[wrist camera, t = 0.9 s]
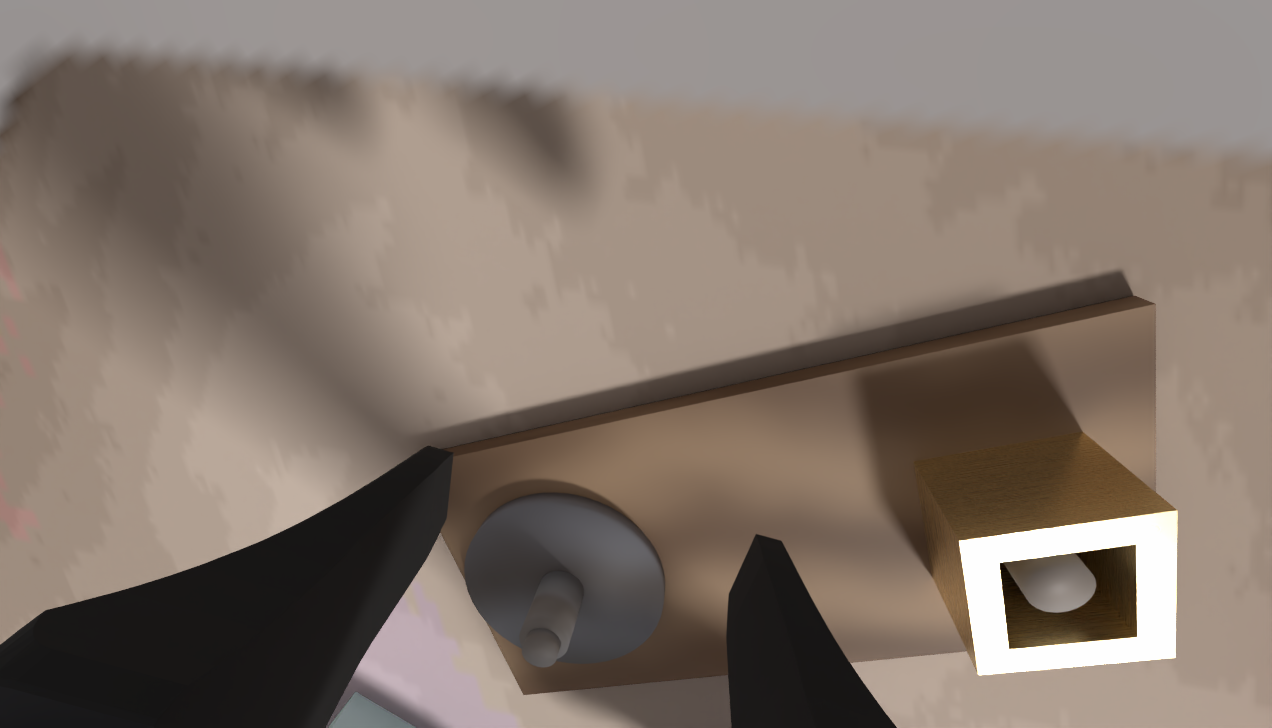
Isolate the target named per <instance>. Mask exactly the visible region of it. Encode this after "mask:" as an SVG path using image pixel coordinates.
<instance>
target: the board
mask: <svg viewBox="0 0 1272 728" xmlns="http://www.w3.org/2000/svg"><path fill="white" fill-rule="evenodd" d="M1078 432H1084V433H1085V434H1086V435H1087V436H1089V437H1090V438H1091V439H1092V440H1093V441H1095V442H1096V443H1097V444H1098V445H1099V446H1101V447H1102V448H1103V449H1104V450H1105V451H1107V452H1108V453H1109V454H1110V455H1111V456H1113V457H1114V458H1115V459H1116V460H1117V461H1119V462H1120V463H1121V464H1122V465H1123V466H1125V467H1126V468H1127V469H1128V470H1129V471H1131V472H1132V473H1133V474H1134V475H1135V476H1137V477H1138V478H1139V479H1140V480H1141V481H1143V482H1144V483H1145V484H1146V485H1147V486H1149V487H1150V488H1151V489H1152V490H1153V491H1155V492H1156V304H1154V303H1152V302H1149V301H1147V300H1144V299H1142V298H1139V297H1137V296H1131V297H1126V298H1122V299H1117V300H1113V301H1108V302H1104V303H1099V304H1095V305H1090V306H1086V307H1081V308H1077V309H1072V310H1068V311H1063V312H1059V313H1054V314H1050V315H1045V316H1041V317H1036V318H1032V319H1027V320H1023V321H1018V322H1014V323H1009V324H1005V325H1000V326H996V327H991V328H987V329H982V330H978V331H973V332H969V333H964V334H960V335H955V336H951V337H946V338H942V339H937V340H933V341H928V342H924V343H919V344H915V345H910V346H906V347H901V348H897V349H892V350H888V351H883V352H879V353H874V354H870V355H865V356H861V357H856V358H852V359H847V360H843V361H838V362H834V363H829V364H825V365H820V366H816V367H811V368H807V369H802V370H798V371H793V372H789V373H784V374H780V375H775V376H771V377H766V378H762V379H757V380H753V381H748V382H744V383H739V384H735V385H730V386H726V387H721V388H717V389H712V390H708V391H703V392H699V393H694V394H690V395H685V396H681V397H676V398H672V399H667V400H663V401H658V402H654V403H649V404H645V405H640V406H636V407H631V408H627V409H622V410H618V411H613V412H609V413H604V414H600V415H595V416H590V417H586V418H581V419H577V420H572V421H568V422H563V423H559V424H554V425H550V426H545V427H541V428H536V429H532V430H527V431H523V432H518V433H514V434H509V435H505V436H500V437H496V438H491V439H487V440H482V441H478V442H473V443H469V444H464V445H460V446H455V447H451V448H446V449H442V450H446V451H449V452H453V453H454V454H453V464H452V473H451V483H450V492H449V502H448V511H447V519H446V521H445V523H444V525H443V527H442V529H441V531H440V532H441V534H442V536H443V538H444V540H445V542H446V544H447V546H448V548H449V550H450V552H451V554H452V556H453V558H454V560H455V562H456V564H457V566H458V567H459V569H460V571H461V573H462V575H463V577H464V579H465V581H466V585H467V589H468V592H469V595H470V597H471V599H472V602H473V603H474V605H475V607H476V608H477V610H478V612H479V613H480V614H481V616H482V617H483V618H484V620H485V621H486V622H487V624H488V626H489V628H490V630H491V632H492V634H493V636H494V638H495V640H496V642H497V644H498V646H499V648H500V650H501V652H502V654H503V656H504V658H505V659H506V661H507V663H508V665H509V667H510V669H511V671H512V673H513V675H514V677H515V679H516V681H517V683H518V685H519V687H520V689H521V691H522V693H523V695H528V694H538V693H549V692H559V691H569V690H579V689H589V688H599V687H609V686H620V685H630V684H640V683H650V682H660V681H670V680H680V679H690V678H701V677H711V676H721V675H728V661H727V644H726V631H727V612H728V596H729V592H730V590H731V588H732V586H733V583H734V581H735V579H736V577H737V574H738V572H739V570H740V568H741V566H742V563H743V561H744V559H745V557H746V555H747V552H748V550H749V548H750V546H751V544H752V541H753V539H754V537H755V535H756V534H759V535H762V536H766V537H770V538H774V539H777V540H781V541H782V542H783V544H784V546H785V548H786V550H787V552H788V554H789V556H790V558H791V559H792V561H793V563H794V565H795V567H796V569H797V571H798V573H799V575H800V577H801V579H802V581H803V583H804V585H805V587H806V588H807V590H808V592H809V594H810V596H811V598H812V600H813V602H814V603H815V605H816V607H817V609H818V610H819V612H820V614H821V616H822V618H823V619H824V621H825V623H826V625H827V626H828V628H829V630H830V632H831V633H832V635H833V637H834V638H835V640H836V642H837V643H838V645H839V646H840V648H841V650H842V651H843V653H844V654H845V656H846V657H847V659H848V661H849V662H850V663H853V662H863V661H873V660H883V659H893V658H903V657H913V656H924V655H934V654H944V653H954V652H964V651H967V650H966V648H965V646H964V644H963V641H962V639H961V637H960V635H959V633H958V631H957V629H956V627H955V624H954V622H953V620H952V618H951V616H950V614H949V612H948V610H947V607H946V605H945V603H944V601H943V599H942V597H941V595H940V593H939V590H938V588H937V586H936V584H935V582H934V580H933V578H932V572H931V566H930V560H929V554H928V548H927V542H926V536H925V529H924V523H923V517H922V511H921V505H920V499H919V493H918V487H917V481H916V475H915V469H914V463H913V461H919V460H924V459H930V458H936V457H941V456H947V455H953V454H958V453H964V452H970V451H975V450H981V449H987V448H992V447H998V446H1004V445H1010V444H1015V443H1021V442H1027V441H1032V440H1038V439H1044V438H1049V437H1055V436H1061V435H1066V434H1072V433H1078ZM1003 563H1004V565H1005V567H1006V568H1007V570H1008V571H1009V573H1010V574H1011V576H1012V577H1013V579H1014V580H1015V582H1016V583H1017V585H1018V586H1019V588H1020V590H1021V591H1022V593H1023V594H1024V596H1025V597H1026V599H1027V600H1028V602H1029V603H1030V604H1031V605H1032V606H1034V607H1035V608H1037V609H1039V610H1042V611H1046V612H1055V613H1058V612H1066V611H1070V610H1073V609H1076V608H1078V607H1080V606H1082V605H1084V604H1085V603H1086V602H1087V601H1088V600H1090V598H1091V597H1092V596H1093V594H1094V592H1095V589H1096V580H1095V577H1094V576H1093V574H1092V573H1091V572H1090V570H1089V569H1088V568H1087V567H1086V566H1085V564H1084V563H1083V562H1082V561H1081V560H1080V559H1079V557H1078V556H1077V555H1076V554H1075V553H1067V554H1060V555H1052V556H1044V557H1037V558H1029V559H1022V560H1014V561H1006V562H1003Z"/></svg>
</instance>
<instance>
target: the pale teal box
mask: <svg viewBox="0 0 1272 728" xmlns="http://www.w3.org/2000/svg"><path fill="white" fill-rule="evenodd" d="M328 728H416V727H414V726H413V725H411V724H409V723H408V722H406V721H404V720H403V719H401V718H399V717H398V716H396V715H394V714H393V713H391V712H389V711H388V710H386V709H384V708H383V707H381V706H379V705H377V704H376V703H374V702H372V701H371V700H369V699H367V698H366V697H364V696H362V695H361V694H359V693H357V692H355V693H354V694H353V696H352V697H351V698H350V700H349V701H348V702H347V703H346V705H345V706H344V707H343V709H342V710H341V711H340V713H339V714H338V715H337V716H336V718H335V719H334V720H333V722H332V723H331V724H330V726H329V727H328Z"/></svg>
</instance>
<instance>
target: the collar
mask: <svg viewBox="0 0 1272 728" xmlns="http://www.w3.org/2000/svg"><path fill="white" fill-rule="evenodd" d="M913 463H914V469H915V475H916V481H917V487H918V493H919V499H920V505H921V511H922V517H923V523H924V529H925V536H926V542H927V548H928V554H929V560H930V566H931V572H932V578H933V580H934V582H935V584H936V586H937V588H938V590H939V593H940V595H941V597H942V599H943V601H944V603H945V605H946V607H947V610H948V612H949V614H950V616H951V618H952V620H953V622H954V624H955V627H956V629H957V631H958V633H959V635H960V637H961V639H962V641H963V644H964V646H965V648H966V650H967V652H968V654H969V656H970V658H971V660H972V663H973V665H974V667H975V669H976V671H977V673H978V675H986V674H997V673H1008V672H1019V671H1031V670H1042V669H1053V668H1064V667H1076V666H1087V665H1098V664H1109V663H1120V662H1132V661H1143V660H1154V659H1165V658H1175V636H1176V567H1177V510H1176V509H1175V508H1174V507H1173V506H1171V505H1170V504H1169V503H1168V502H1167V501H1165V500H1164V499H1163V498H1162V497H1161V496H1159V495H1158V494H1157V493H1156V492H1155V491H1153V490H1152V489H1151V488H1150V487H1149V486H1147V485H1146V484H1145V483H1144V482H1143V481H1141V480H1140V479H1139V478H1138V477H1137V476H1135V475H1134V474H1133V473H1132V472H1131V471H1129V470H1128V469H1127V468H1126V467H1125V466H1123V465H1122V464H1121V463H1120V462H1119V461H1117V460H1116V459H1115V458H1114V457H1113V456H1111V455H1110V454H1109V453H1108V452H1107V451H1105V450H1104V449H1103V448H1102V447H1101V446H1099V445H1098V444H1097V443H1096V442H1095V441H1093V440H1092V439H1091V438H1090V437H1089V436H1087V435H1086V434H1085V433H1084V432H1078V433H1072V434H1066V435H1061V436H1055V437H1049V438H1044V439H1038V440H1032V441H1027V442H1021V443H1015V444H1010V445H1004V446H998V447H992V448H987V449H981V450H975V451H970V452H964V453H958V454H953V455H947V456H941V457H936V458H930V459H924V460H919V461H913ZM1067 553H1075V554H1076V555H1077V556H1078V557H1079V559H1080V560H1081V561H1082V562H1083V563H1084V564H1085V566H1086V567H1087V568H1088V569H1089V570H1090V572H1091V573H1092V574H1093V576H1094V577H1095V580H1096V589H1095V592H1094V594H1093V596H1092V597H1091V598H1090V600H1088V601H1087V602H1086V603H1085V604H1084V605H1082V606H1080V607H1078V608H1076V609H1073V610H1070V611H1066V612H1058V613H1055V612H1046V611H1042V610H1039V609H1037V608H1035V607H1034V606H1032V605H1031V604H1030V603H1029V602H1028V600H1027V599H1026V597H1025V596H1024V594H1023V593H1022V591H1021V590H1020V588H1019V586H1018V585H1017V583H1016V582H1015V580H1014V579H1013V577H1012V576H1011V574H1010V573H1009V571H1008V570H1007V568H1006V567H1005V565H1004V563H1003V562H1006V561H1014V560H1022V559H1029V558H1037V557H1044V556H1052V555H1060V554H1067Z"/></svg>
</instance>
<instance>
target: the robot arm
mask: <svg viewBox="0 0 1272 728" xmlns="http://www.w3.org/2000/svg"><path fill="white" fill-rule="evenodd" d="M453 454H454V453H453V452H449V451H446V450H442V449H438V448H434V447H431V446H427V447H425V448H423V449H422V450H420V451H419V452H417V453H416V454H414V455H412V456H411V457H409V458H408V459H406V460H405V461H403V462H402V463H400V464H399V465H397V466H396V467H394V468H393V469H391V470H390V471H388V472H387V473H385V474H383V475H382V476H380V477H379V478H377V479H376V480H374V481H372V482H371V483H369V484H367V485H366V486H364V487H363V488H361V489H359V490H358V491H356V492H354V493H353V494H351V495H349V496H348V497H346V498H344V499H343V500H341V501H339V502H337V503H335V504H334V505H332V506H330V507H328V508H326V509H325V510H323V511H321V512H319V513H317V514H315V515H314V516H312V517H310V518H308V519H306V520H304V521H302V522H300V523H298V524H296V525H294V526H292V527H290V528H288V529H286V530H284V531H282V532H280V533H278V534H276V535H273V536H271V537H269V538H267V539H265V540H263V541H260V542H258V543H256V544H253V545H251V546H248V547H246V548H243V549H241V550H238V551H236V552H233V553H231V554H228V555H225V556H223V557H220V558H218V559H215V560H213V561H210V562H208V563H205V564H202V565H200V566H197V567H194V568H191V569H188V570H185V571H182V572H179V573H176V574H173V575H171V576H167V577H164V578H161V579H158V580H155V581H152V582H148V583H145V584H142V585H139V586H135V587H132V588H129V589H125V590H122V591H118V592H115V593H111V594H107V595H103V596H99V597H96V598H92V599H88V600H84V601H81V602H77V603H73V604H69V605H65V606H62V607H57V608H53V609H49V610H45V611H44V612H43V613H41V614H40V615H39V616H37V617H36V618H34V619H33V620H32V621H30V622H29V623H28V624H26V625H25V626H24V627H22V628H21V629H20V630H18V631H17V632H16V633H15V634H13V635H12V636H11V637H10V638H8V639H7V640H6V641H5V642H3V643H2V644H1V645H0V728H325V727H326V725H327V723H328V721H329V719H330V717H331V716H332V714H333V712H334V710H335V708H336V706H337V704H338V702H339V700H340V698H341V696H342V695H343V693H344V691H345V689H346V687H347V685H348V683H349V681H350V680H351V678H352V676H353V674H354V672H355V670H356V668H357V666H358V665H359V663H360V661H361V659H362V658H363V656H364V655H365V653H366V651H367V650H368V648H369V646H370V645H371V643H372V641H373V640H374V638H375V637H376V635H377V634H378V632H379V631H380V629H381V628H382V626H383V625H384V623H385V622H386V620H387V619H388V617H389V616H390V614H391V613H392V611H393V609H394V608H395V606H396V605H397V603H398V602H399V600H400V599H401V597H402V596H403V594H404V593H405V591H406V590H407V588H408V587H409V585H410V584H411V582H412V581H413V579H414V577H415V576H416V574H417V573H418V571H419V570H420V568H421V567H422V565H423V564H424V562H425V560H426V559H427V557H428V555H429V553H430V551H431V549H432V547H433V545H434V543H435V542H436V540H437V537H438V535H439V533H440V531H441V529H442V527H443V525H444V523H445V521H446V519H447V511H448V502H449V492H450V483H451V473H452V464H453ZM726 644H727V661H728V678H729V693H730V708H731V723H732V728H897V727H896V726H895V725H894V723H893V722H892V721H891V720H890V718H889V717H888V716H887V715H886V713H885V712H884V711H883V709H882V708H881V706H880V705H879V704H878V702H877V701H876V700H875V698H874V697H873V695H872V694H871V693H870V691H869V690H868V689H867V687H866V686H865V684H864V683H863V682H862V680H861V679H860V677H859V676H858V674H857V673H856V671H855V670H854V668H853V667H852V665H851V664H850V662H849V661H848V659H847V657H846V656H845V654H844V653H843V651H842V650H841V648H840V646H839V645H838V643H837V642H836V640H835V638H834V637H833V635H832V633H831V632H830V630H829V628H828V626H827V625H826V623H825V621H824V619H823V618H822V616H821V614H820V612H819V610H818V609H817V607H816V605H815V603H814V602H813V600H812V598H811V596H810V594H809V592H808V590H807V588H806V587H805V585H804V583H803V581H802V579H801V577H800V575H799V573H798V571H797V569H796V567H795V565H794V563H793V561H792V559H791V558H790V556H789V554H788V552H787V550H786V548H785V546H784V544H783V542H782V541H781V540H777V539H774V538H770V537H766V536H762V535H759V534H756V535H755V537H754V539H753V541H752V544H751V546H750V548H749V550H748V552H747V555H746V557H745V559H744V561H743V563H742V566H741V568H740V570H739V572H738V574H737V577H736V579H735V581H734V583H733V586H732V588H731V590H730V592H729V596H728V612H727V631H726Z"/></svg>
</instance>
